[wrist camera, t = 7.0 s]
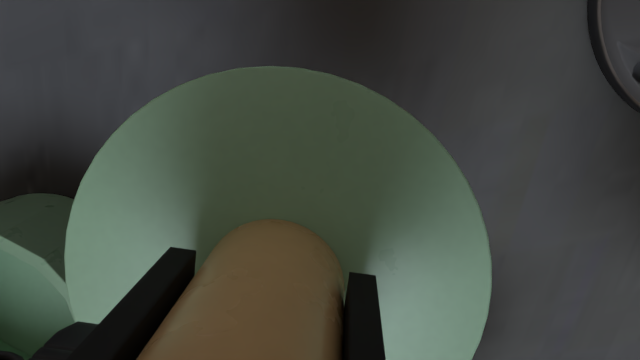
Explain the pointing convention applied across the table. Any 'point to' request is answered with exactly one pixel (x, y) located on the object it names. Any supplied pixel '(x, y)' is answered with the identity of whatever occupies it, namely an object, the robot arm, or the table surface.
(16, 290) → the pot
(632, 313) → the table surface
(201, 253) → the lid
